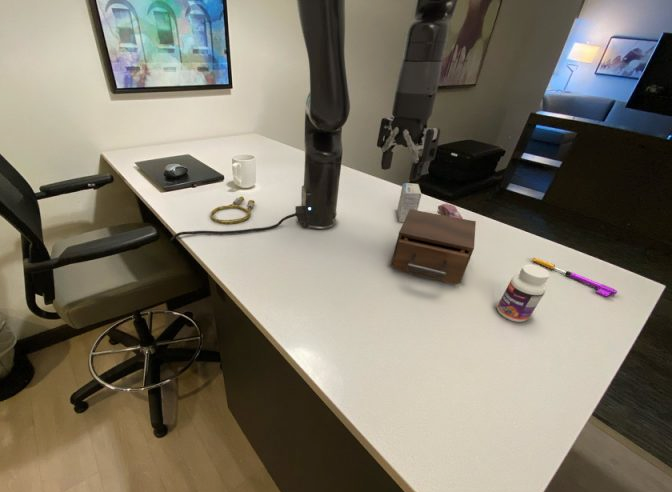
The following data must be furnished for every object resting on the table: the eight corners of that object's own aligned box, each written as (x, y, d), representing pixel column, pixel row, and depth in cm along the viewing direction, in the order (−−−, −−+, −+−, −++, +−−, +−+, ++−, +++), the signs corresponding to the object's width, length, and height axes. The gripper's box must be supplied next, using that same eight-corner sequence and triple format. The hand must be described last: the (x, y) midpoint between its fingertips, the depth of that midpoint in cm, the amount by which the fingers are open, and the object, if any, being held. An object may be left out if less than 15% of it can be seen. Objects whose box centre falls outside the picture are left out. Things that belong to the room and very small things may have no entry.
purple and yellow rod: (616, 293, 67) (533, 259, 77) (619, 289, 66) (534, 255, 76) (609, 300, 66) (526, 264, 77) (612, 296, 65) (528, 261, 76)
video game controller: (437, 222, 96) (433, 202, 92) (453, 216, 95) (449, 195, 91) (454, 239, 88) (450, 217, 84) (471, 231, 87) (467, 210, 83)
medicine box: (414, 223, 92) (422, 193, 87) (398, 222, 93) (405, 192, 88) (411, 212, 98) (419, 183, 93) (396, 210, 99) (402, 182, 94)
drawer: (455, 299, 64) (467, 270, 60) (386, 281, 68) (393, 252, 64) (460, 256, 77) (471, 230, 72) (402, 243, 81) (409, 218, 77)
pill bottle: (489, 306, 63) (510, 264, 58) (511, 301, 65) (534, 260, 59) (512, 325, 59) (537, 282, 53) (535, 319, 61) (562, 276, 55)
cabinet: (459, 283, 69) (474, 248, 64) (390, 266, 75) (398, 232, 69) (463, 253, 79) (475, 221, 74) (401, 240, 84) (409, 209, 79)
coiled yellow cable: (269, 212, 97) (268, 206, 96) (224, 228, 88) (223, 221, 87) (244, 200, 104) (243, 194, 103) (200, 214, 95) (199, 207, 94)
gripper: (376, 86, 66) (364, 168, 76) (432, 94, 56) (410, 187, 66) (403, 84, 69) (389, 163, 79) (461, 92, 59) (436, 181, 69)
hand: (399, 174), depth 72 cm, fingers open, 8 cm apart
